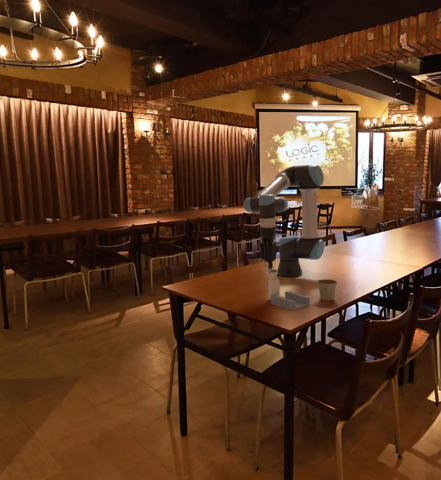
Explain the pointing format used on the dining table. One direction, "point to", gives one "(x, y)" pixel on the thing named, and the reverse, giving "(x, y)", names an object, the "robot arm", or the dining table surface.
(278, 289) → the bottle
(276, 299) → the cradle
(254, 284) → the dining table surface
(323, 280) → the flower pot
